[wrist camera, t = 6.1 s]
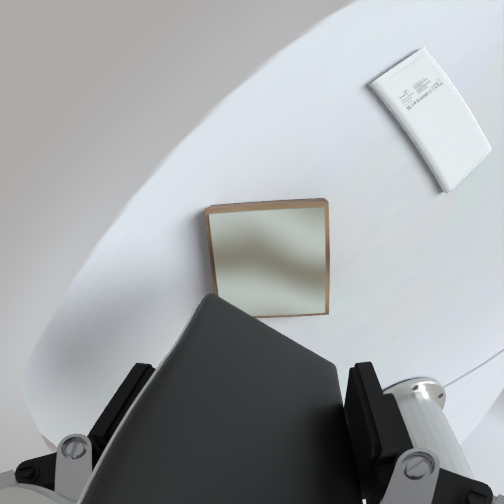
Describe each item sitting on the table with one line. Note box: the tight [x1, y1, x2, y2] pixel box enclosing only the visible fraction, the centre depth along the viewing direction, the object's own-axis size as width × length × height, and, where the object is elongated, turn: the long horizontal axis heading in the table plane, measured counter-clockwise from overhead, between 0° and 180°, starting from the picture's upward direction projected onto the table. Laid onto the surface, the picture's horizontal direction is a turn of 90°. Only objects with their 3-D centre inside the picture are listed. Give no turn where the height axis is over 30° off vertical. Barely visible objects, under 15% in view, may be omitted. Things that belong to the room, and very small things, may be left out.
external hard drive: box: [369, 47, 492, 193], centre depth 21 cm, size 2×8×12 cm
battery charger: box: [77, 294, 363, 504], centre depth 7 cm, size 7×4×11 cm, turn 57°
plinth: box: [205, 198, 330, 318], centre depth 26 cm, size 10×10×3 cm
